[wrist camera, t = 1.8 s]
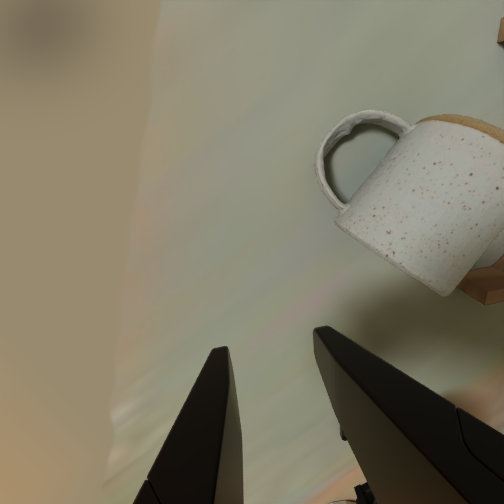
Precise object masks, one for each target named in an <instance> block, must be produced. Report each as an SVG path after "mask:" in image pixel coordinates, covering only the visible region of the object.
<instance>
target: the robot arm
mask: <svg viewBox="0 0 504 504" xmlns="http://www.w3.org/2000/svg"><path fill="white" fill-rule="evenodd" d="M313 342H314V355H315V359H316V362H317V365H318V368H319V370H320V373H321V376H322V379H323V382H324V385H325V387H326V390H327V393H328V396H329V399H330V401H331V404H332V407H333V410H334V412H335V415H336V417H337V419H338V422H339V424H340V436H341V438H342V440H344V441H347V440H348V443H349V445H350V447H351V449H352V451H353V453H354V455H355V457H356V459H357V461H358V463H359V465H360V468H361V470H362V472H363V474H364V476H365V478H366V480H367V482H366V483H364V484H362V485H360V484H359V485H357V486H356V487H354V489H355V492H356V495H357V499H356V502H357V504H504V435H503V434H502V433H500V432H498V431H497V430H495V429H494V428H492V427H490V426H489V425H487V424H485V423H484V422H482V421H480V420H479V419H477V418H475V417H474V416H472V415H471V414H469V413H467V412H466V411H464V410H463V409H461V408H457V409H456V406H455V405H454V404H453V403H451V402H450V401H448V400H446V399H445V398H443V397H442V396H440V395H438V394H437V393H435V392H434V391H432V390H430V389H429V388H427V387H426V386H424V385H422V384H421V383H419V382H418V381H416V380H414V379H413V378H411V377H410V376H408V375H407V374H405V373H403V372H402V371H400V370H399V369H397V368H395V367H394V366H392V365H391V364H389V363H387V362H386V361H384V360H383V359H381V358H379V357H378V356H376V355H375V354H373V353H371V352H370V351H368V350H367V349H365V348H363V347H362V346H360V345H359V344H357V343H355V342H354V341H352V340H351V339H349V338H347V337H346V336H344V335H343V334H341V333H340V332H338V331H336V330H335V329H333V328H332V327H330V326H322V327H317V328H315V329H314V330H313ZM147 479H148V480H145V481H144V483H143V485H142V487H141V489H140V490H139V492H138V494H137V496H136V498H135V500H134V502H133V504H244V499H243V454H242V432H241V424H240V416H239V409H238V401H237V394H236V387H235V379H234V373H233V367H232V363H231V358H230V353H229V349H228V347H227V346H223V347H218V348H214V349H212V350H211V352H210V354H209V356H208V358H207V360H206V362H205V364H204V366H203V368H202V370H201V372H200V374H199V376H198V378H197V380H196V382H195V384H194V385H193V387H192V389H191V391H190V393H189V395H188V397H187V399H186V401H185V403H184V405H183V407H182V409H181V411H180V413H179V415H178V417H177V419H176V421H175V423H174V425H173V426H172V428H171V430H170V432H169V434H168V436H167V438H166V440H165V442H164V444H163V446H162V448H161V450H160V452H159V454H158V456H157V458H156V460H155V462H154V464H153V465H152V467H151V469H150V471H149V473H148V475H147Z"/></svg>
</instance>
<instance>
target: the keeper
mask: <svg viewBox="0 0 504 504" xmlns="http://www.w3.org/2000/svg"><path fill="white" fill-rule="evenodd" d="M498 42H504V17H503V18H502V19H501V25H500V30H499V36H498ZM456 287H457V288H459V289H460V290H462V291H463V292H465V293H467V294H468V295H470V296H471V297H473V298H474V299H476V300H477V301H479V302H480V303H482V304H484V305H489V304H494V303H499V302H504V255H503V256H502V257H501V258H500V259H499V260H498V261H497V262H496V263H495V264H494V265H493V266H492V267H486V268H481V269H476V270H471V271H468V273H467V274H466V275H465V276H464V278H463V279H462V280H461V281H460V283H459V284H458V285H457V286H456Z"/></svg>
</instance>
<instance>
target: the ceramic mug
mask: <svg viewBox="0 0 504 504" xmlns="http://www.w3.org/2000/svg"><path fill="white" fill-rule="evenodd" d="M363 123H373V124H376V125H381V126H383V127H385V128H387V129H390V130H392V131H393V132H395V133H396V134H398V135H399V139H398V141H397V142H396V143H395V144H394V145H393V147H391V149H390V150H389V151H388V153H387V155H386V156H385V157H384V158H383V159H382V160H381V162H380V164H379V165H378V166H377V168H376V169H375V170H374V171H373V172H372V174H371V175H370V176H369V177H368V178H367V180H366V181H365V182H364V183H363V184H362V185H361V186H360V188H359V189H358V190H357V192H356V193H355V194H354V195H353V196H352V197H351V199H350V200H349V201H348V202H347V203H346V204H343V203H342V202H341V201H340V200H339V199H338V198H337V197H336V195H335V194H334V193H333V191H332V190H331V188H330V186H329V185H328V183H327V181H326V178H325V172H324V162H323V159H324V158H325V156H326V155H327V154H328V152H329V151H330V150H331V149H332V147H333V146H334V145H335V144H336V143H337V142H338V141H339V140H340V139H341V138H342V137H343V136H345V135H348V134H350V132H351V131H352V129H353V127H354V126H356V125H357V124H363ZM315 173H316V178H317V181H318V184H319V186H320V188H321V190H322V192H323V193H324V195H325V196H326V197H327V199H328V200H329V201H330V202H331V203H332V205H333V206H334V207H336V208H337V209H338V211H339V214H338V216H337V217H336V219H335V221H334V223H335V225H337V226H338V227H339V228H341V229H342V230H343V231H345V232H347V233H348V234H349V235H351V236H352V237H353V238H355V239H356V240H358V241H359V242H361V243H362V244H364V245H365V246H366V247H368V248H370V249H371V250H372V251H374V252H375V253H377V254H378V255H380V256H381V257H383V258H384V259H386V260H387V261H389V262H390V263H392V264H393V265H394V266H396V267H397V268H399V269H401V270H402V271H404V272H405V273H407V274H408V275H410V276H412V277H413V278H414V279H416V280H418V281H419V282H421V283H422V284H424V285H426V286H427V287H428V288H430V289H432V290H433V291H435V292H436V293H438V294H439V295H441V296H443V297H445V296H449V295H450V294H451V293H452V291H453V290H454V289H455V288H456V286H457V285H458V284H459V283H460V281H461V280H462V279H463V278H464V276H465V275H466V274H467V273H468V271H469V270H470V269H471V268H472V267H473V265H474V264H475V263H476V262H477V260H478V259H479V258H480V257H481V256H482V254H483V253H484V252H485V250H486V249H487V248H488V247H489V245H490V244H491V243H492V242H493V240H494V239H495V238H496V237H497V235H498V234H499V233H500V232H501V230H502V229H503V228H504V130H502V129H500V128H498V127H496V126H494V125H491V124H489V123H486V122H484V121H482V120H478V119H475V118H471V117H467V116H462V115H454V114H443V115H437V116H431V117H427V118H425V119H422V120H420V121H419V122H417V123H416V124H415V125H409V124H408V123H407V122H406V121H405V120H403V119H401V118H400V117H399V116H396V115H393V114H391V113H389V112H384V111H379V110H366V111H361V112H356V113H354V114H351V115H349V116H347V117H345V118H343V119H342V120H341V121H339V122H338V123H337V124H336V125H335V126H334V127H333V128H332V129H330V131H329V132H328V133H327V134H326V136H325V137H324V138H323V140H322V142H321V143H320V145H319V147H318V150H317V153H316V159H315Z"/></svg>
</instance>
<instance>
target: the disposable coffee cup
mask: <svg viewBox="0 0 504 504" xmlns="http://www.w3.org/2000/svg"><path fill="white" fill-rule="evenodd" d="M330 504H356V503H355V502H351V501H346V500H344V501H338V502H332V503H330Z"/></svg>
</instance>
